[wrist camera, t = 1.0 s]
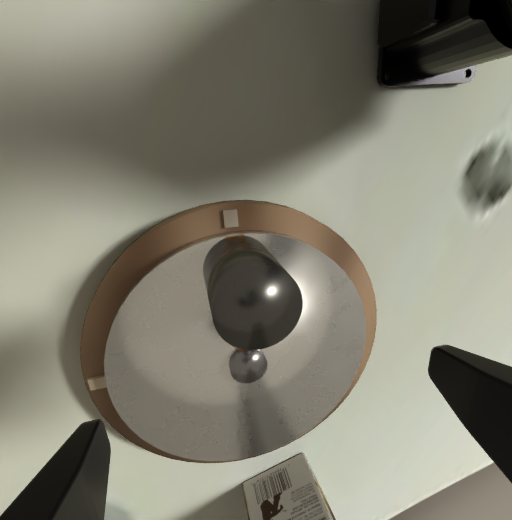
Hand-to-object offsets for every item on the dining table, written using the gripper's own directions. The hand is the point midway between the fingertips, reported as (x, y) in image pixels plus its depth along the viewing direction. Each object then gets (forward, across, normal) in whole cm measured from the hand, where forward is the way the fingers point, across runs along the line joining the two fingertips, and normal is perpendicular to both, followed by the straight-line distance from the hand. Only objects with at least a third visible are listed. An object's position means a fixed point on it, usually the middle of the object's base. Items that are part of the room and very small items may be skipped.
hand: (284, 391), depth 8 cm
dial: (+11, -1, +7) cm, 13 cm away
